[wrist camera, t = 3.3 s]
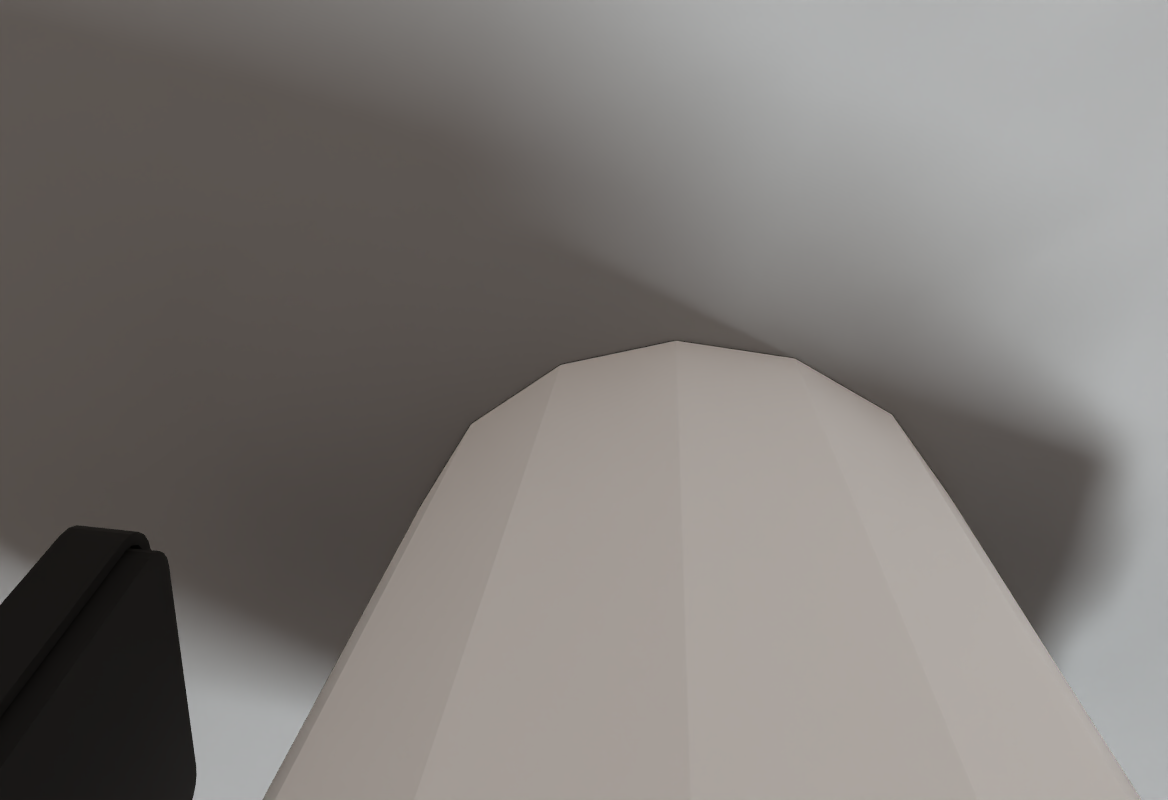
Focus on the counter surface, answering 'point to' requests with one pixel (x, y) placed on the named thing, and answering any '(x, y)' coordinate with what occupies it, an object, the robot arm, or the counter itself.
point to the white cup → (693, 612)
